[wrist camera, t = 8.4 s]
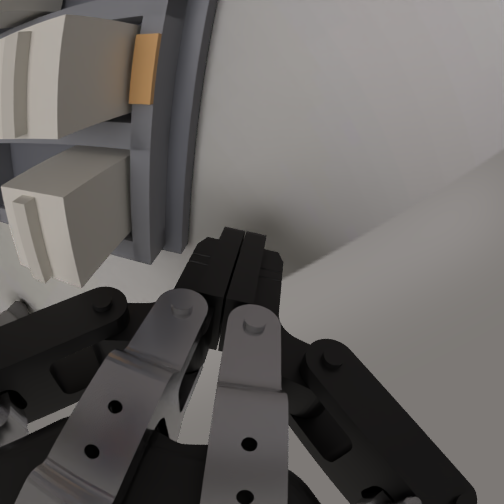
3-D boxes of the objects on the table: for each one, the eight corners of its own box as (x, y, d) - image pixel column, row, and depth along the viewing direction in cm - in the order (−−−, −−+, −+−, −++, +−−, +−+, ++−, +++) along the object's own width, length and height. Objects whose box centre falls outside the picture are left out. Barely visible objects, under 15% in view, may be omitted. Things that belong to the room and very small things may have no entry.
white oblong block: (142, 147, 13) (51, 205, 7) (142, 218, 15) (74, 298, 10) (82, 142, 13) (-10, 192, 8) (86, 207, 15) (13, 272, 10)
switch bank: (239, -86, 6) (224, -117, 3) (187, 243, 17) (166, 278, 15) (24, -31, 7) (-9, -32, 4) (16, 203, 18) (-12, 224, 15)
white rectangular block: (154, 29, 10) (51, 13, 4) (145, 108, 12) (44, 144, 6) (87, 36, 10) (-16, 43, 4) (81, 107, 12) (-17, 144, 6)
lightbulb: (17, 279, 24) (-40, 350, 14) (50, 321, 26) (2, 394, 17) (3, 289, 26) (-45, 350, 17) (32, 326, 28) (-10, 388, 19)
